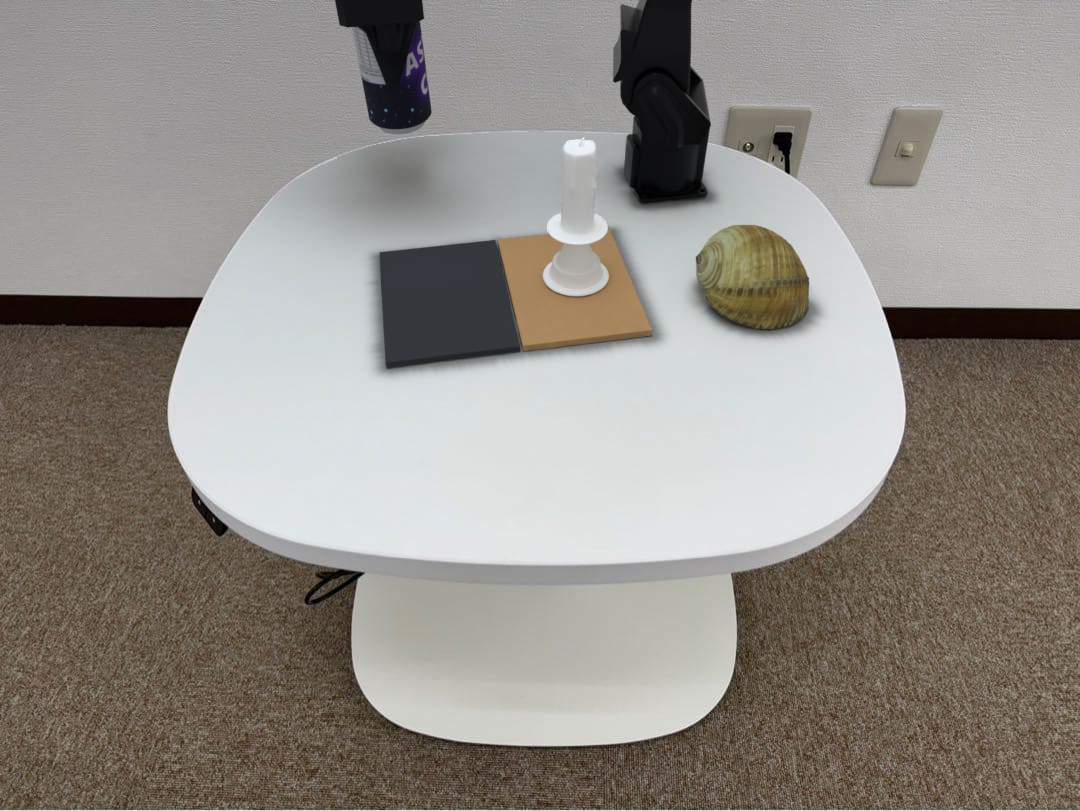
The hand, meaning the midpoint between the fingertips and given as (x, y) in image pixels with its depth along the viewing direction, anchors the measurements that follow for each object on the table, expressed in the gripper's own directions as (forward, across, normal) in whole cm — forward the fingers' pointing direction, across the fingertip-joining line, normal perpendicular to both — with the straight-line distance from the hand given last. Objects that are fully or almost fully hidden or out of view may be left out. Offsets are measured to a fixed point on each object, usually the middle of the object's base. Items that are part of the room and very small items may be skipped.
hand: (391, 72), depth 70 cm
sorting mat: (+10, +20, +7) cm, 23 cm away
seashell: (+10, +24, +26) cm, 37 cm away
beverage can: (+5, 0, 0) cm, 5 cm away
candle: (+10, +19, +13) cm, 25 cm away
